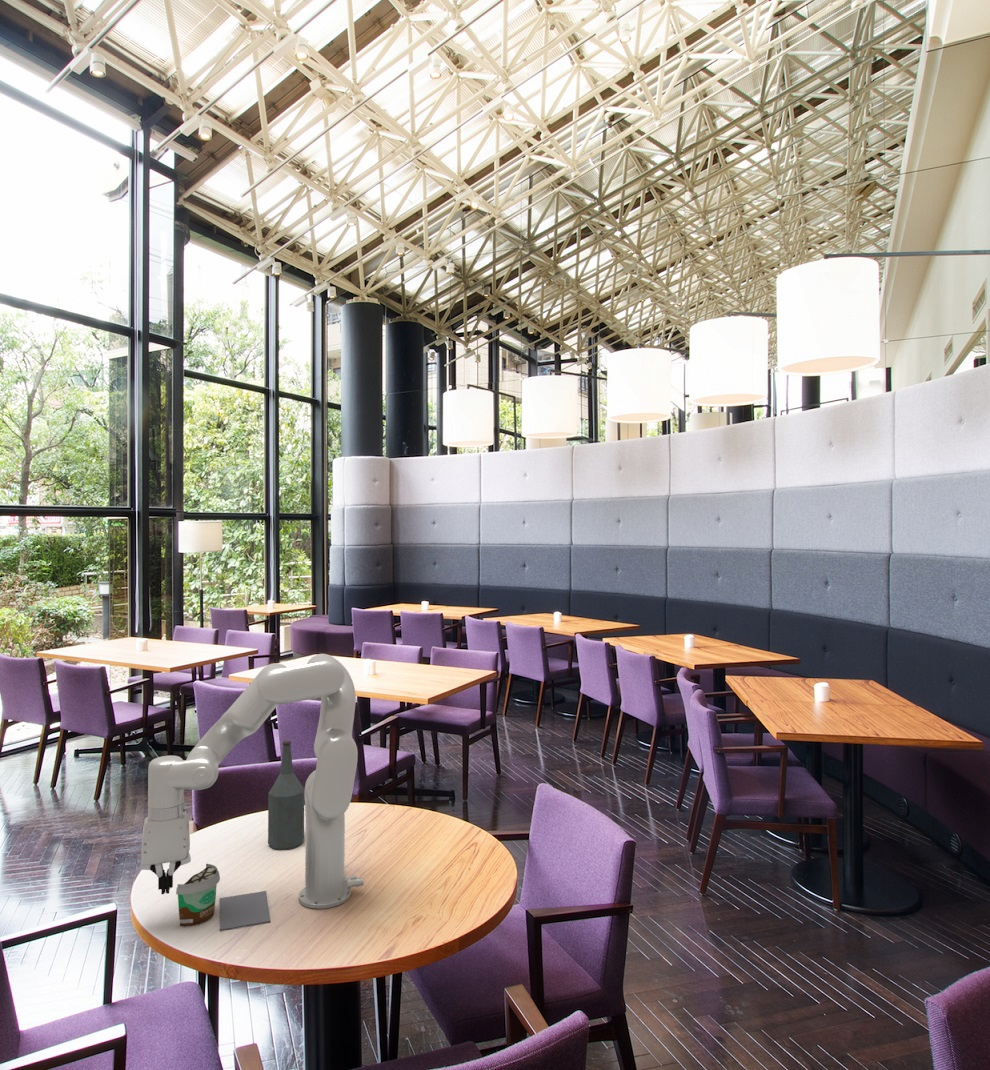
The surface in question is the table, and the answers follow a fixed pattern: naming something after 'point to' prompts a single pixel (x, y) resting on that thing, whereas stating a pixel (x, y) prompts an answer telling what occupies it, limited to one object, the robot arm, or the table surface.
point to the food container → (198, 897)
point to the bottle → (286, 806)
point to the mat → (244, 910)
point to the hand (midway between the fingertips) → (165, 891)
